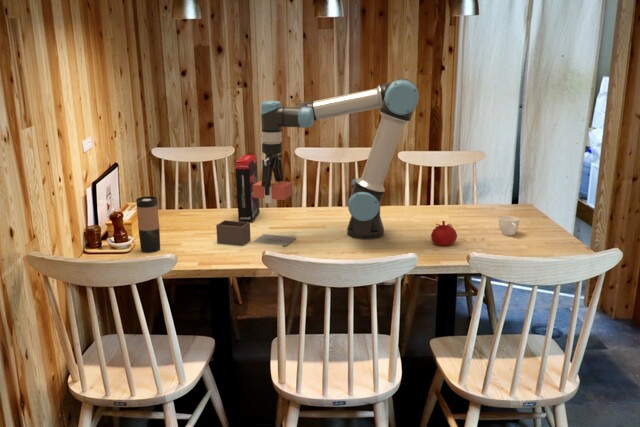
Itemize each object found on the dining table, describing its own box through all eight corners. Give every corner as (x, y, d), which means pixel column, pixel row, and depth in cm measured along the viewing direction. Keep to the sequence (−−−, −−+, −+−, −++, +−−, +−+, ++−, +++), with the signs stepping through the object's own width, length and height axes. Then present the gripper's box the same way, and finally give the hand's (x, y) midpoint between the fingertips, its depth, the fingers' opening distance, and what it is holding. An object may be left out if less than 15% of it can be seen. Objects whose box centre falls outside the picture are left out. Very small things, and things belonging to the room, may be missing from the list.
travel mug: (162, 246, 242) (159, 196, 237) (158, 252, 235) (154, 201, 229) (143, 246, 242) (138, 196, 236) (138, 253, 234) (133, 201, 229)
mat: (295, 238, 250) (295, 237, 250) (285, 246, 240) (285, 245, 240) (263, 235, 255) (263, 234, 255) (252, 243, 245) (252, 242, 244)
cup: (513, 231, 259) (514, 215, 257) (523, 238, 249) (525, 222, 247) (495, 231, 258) (496, 216, 256) (505, 239, 248) (506, 222, 246)
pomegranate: (461, 245, 242) (463, 222, 239) (441, 249, 237) (443, 226, 234) (444, 238, 250) (446, 215, 247) (424, 241, 245) (426, 219, 243)
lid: (292, 194, 245) (292, 181, 243) (284, 200, 237) (283, 186, 235) (262, 192, 249) (261, 179, 247) (253, 197, 241) (252, 183, 239)
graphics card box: (252, 223, 272) (250, 161, 265) (237, 223, 273) (234, 161, 265) (259, 212, 288) (258, 154, 281) (245, 212, 289) (242, 154, 282)
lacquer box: (250, 242, 246) (249, 222, 244) (243, 247, 240) (242, 227, 238) (225, 239, 250) (224, 220, 248) (217, 244, 243) (216, 225, 241)
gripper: (273, 137, 248) (274, 193, 254) (250, 146, 228) (252, 206, 234) (291, 138, 246) (292, 194, 252) (269, 147, 226) (271, 207, 232)
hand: (273, 200), depth 243 cm, fingers closed on lid, 9 cm apart
